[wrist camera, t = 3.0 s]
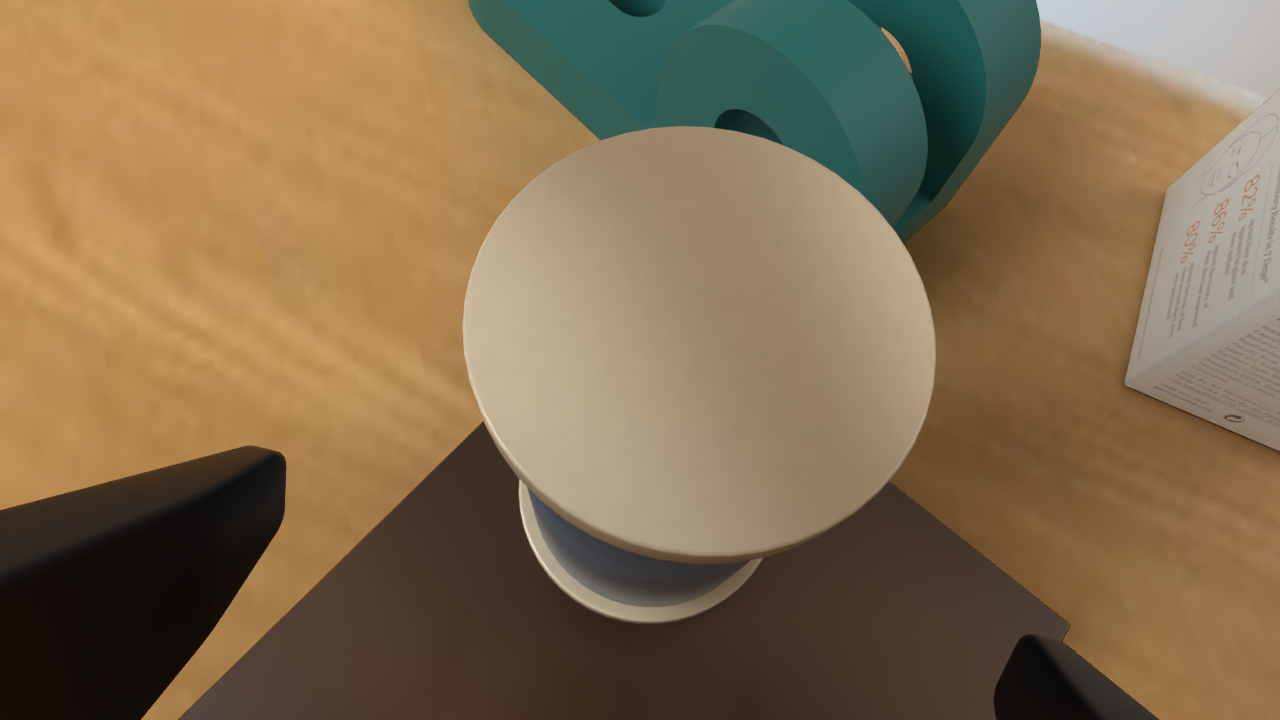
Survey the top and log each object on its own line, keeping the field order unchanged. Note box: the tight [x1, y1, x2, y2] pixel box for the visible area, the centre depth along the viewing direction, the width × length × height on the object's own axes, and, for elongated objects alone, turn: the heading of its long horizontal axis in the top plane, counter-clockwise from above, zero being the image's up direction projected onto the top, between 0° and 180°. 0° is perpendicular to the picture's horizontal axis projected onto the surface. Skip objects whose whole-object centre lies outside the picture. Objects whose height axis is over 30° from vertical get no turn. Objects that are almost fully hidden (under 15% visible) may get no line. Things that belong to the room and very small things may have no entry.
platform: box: [178, 421, 1070, 720], centre depth 17 cm, size 15×13×2 cm
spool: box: [462, 126, 936, 624], centre depth 14 cm, size 6×6×9 cm
